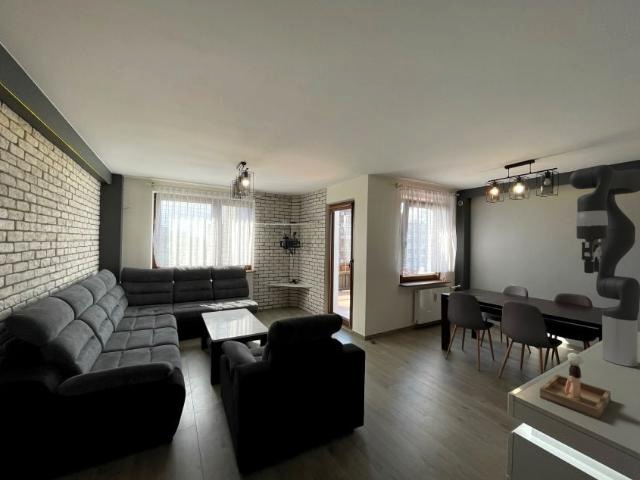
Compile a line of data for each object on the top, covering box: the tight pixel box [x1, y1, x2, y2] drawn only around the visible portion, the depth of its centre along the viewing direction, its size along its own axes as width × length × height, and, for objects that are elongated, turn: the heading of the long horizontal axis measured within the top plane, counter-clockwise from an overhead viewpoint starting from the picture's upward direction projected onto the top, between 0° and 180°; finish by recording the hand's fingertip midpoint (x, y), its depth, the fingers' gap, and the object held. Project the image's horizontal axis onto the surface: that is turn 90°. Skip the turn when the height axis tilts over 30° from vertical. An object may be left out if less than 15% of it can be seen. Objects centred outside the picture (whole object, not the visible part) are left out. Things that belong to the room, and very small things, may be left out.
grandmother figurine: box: [565, 352, 584, 401], centre depth 77 cm, size 8×4×13 cm, turn 134°
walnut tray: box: [539, 374, 612, 421], centre depth 78 cm, size 16×12×2 cm
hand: (592, 272), depth 91 cm, fingers open, 8 cm apart
